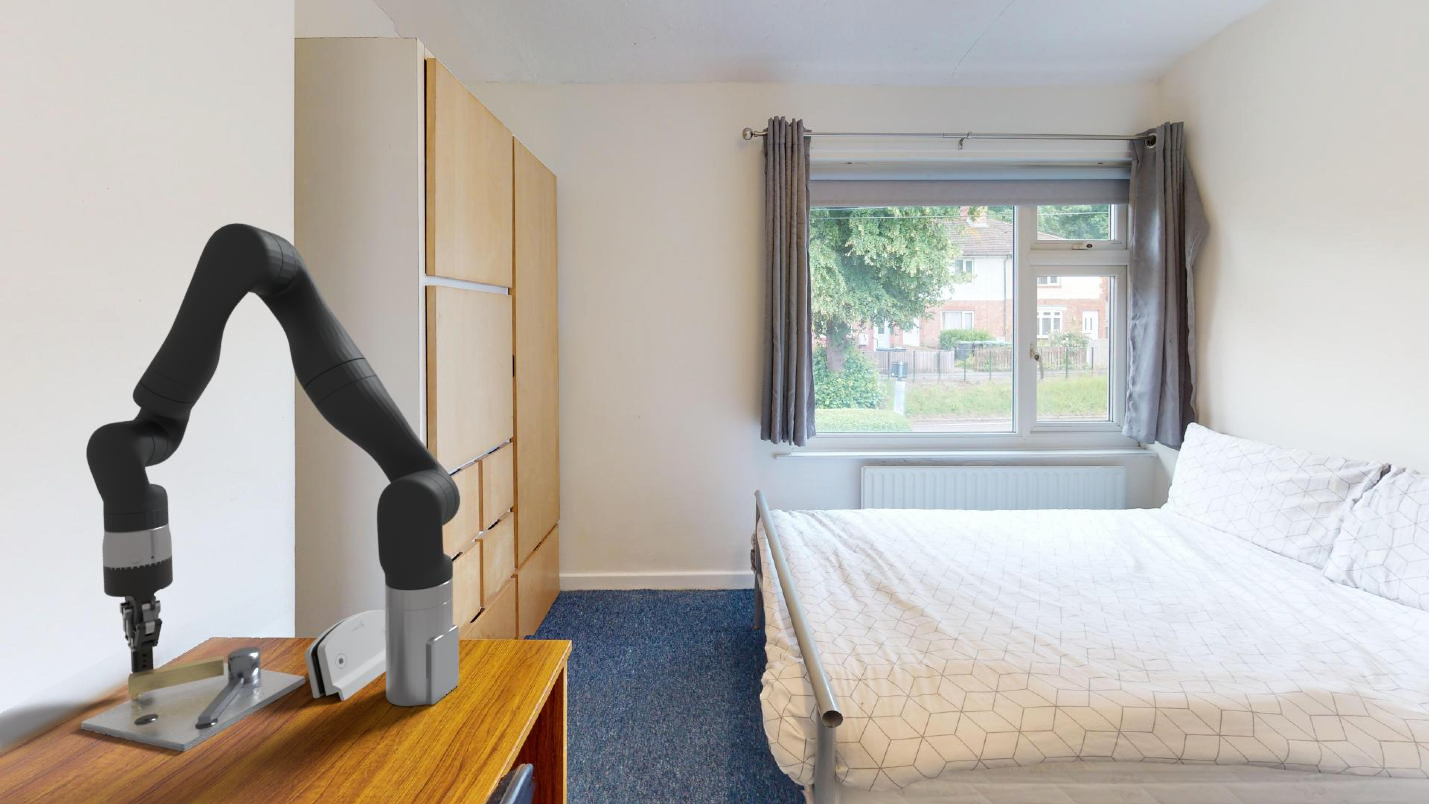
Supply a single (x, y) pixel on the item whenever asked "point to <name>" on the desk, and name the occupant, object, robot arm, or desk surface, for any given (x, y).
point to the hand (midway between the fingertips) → (142, 672)
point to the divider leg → (174, 675)
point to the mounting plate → (197, 705)
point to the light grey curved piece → (348, 655)
